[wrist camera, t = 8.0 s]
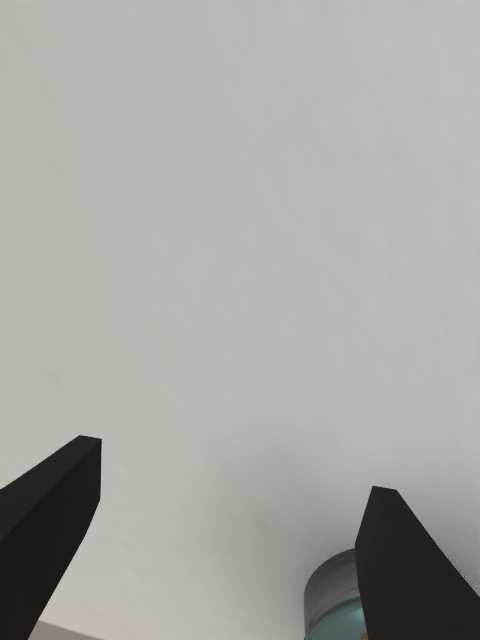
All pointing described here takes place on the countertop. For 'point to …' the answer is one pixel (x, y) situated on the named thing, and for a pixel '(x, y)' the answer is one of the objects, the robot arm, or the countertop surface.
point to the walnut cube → (364, 636)
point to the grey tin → (334, 601)
